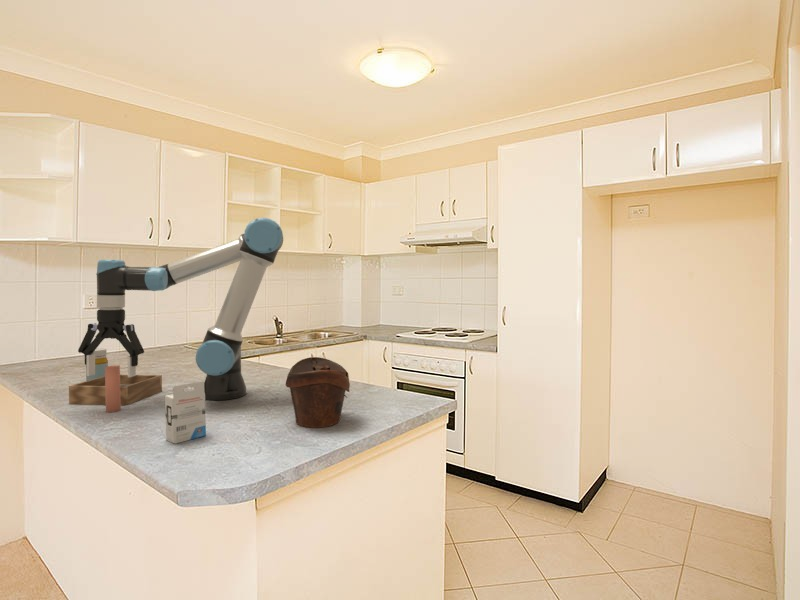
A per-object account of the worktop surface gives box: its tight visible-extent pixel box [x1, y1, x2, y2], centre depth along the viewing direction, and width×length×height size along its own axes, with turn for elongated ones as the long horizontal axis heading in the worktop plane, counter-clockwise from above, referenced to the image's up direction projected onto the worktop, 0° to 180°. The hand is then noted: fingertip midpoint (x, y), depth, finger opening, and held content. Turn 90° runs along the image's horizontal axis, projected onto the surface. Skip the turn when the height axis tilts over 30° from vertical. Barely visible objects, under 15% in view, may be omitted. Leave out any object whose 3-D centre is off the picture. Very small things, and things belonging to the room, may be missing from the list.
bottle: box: [85, 347, 109, 381], centre depth 175 cm, size 7×7×15 cm
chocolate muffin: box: [285, 356, 351, 429], centre depth 134 cm, size 18×20×18 cm
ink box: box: [164, 380, 207, 444], centre depth 120 cm, size 8×5×15 cm, turn 140°
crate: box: [68, 374, 163, 406], centre depth 162 cm, size 20×20×6 cm
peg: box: [105, 364, 122, 413], centre depth 145 cm, size 4×4×14 cm
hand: (111, 375), depth 145 cm, fingers open, 13 cm apart
